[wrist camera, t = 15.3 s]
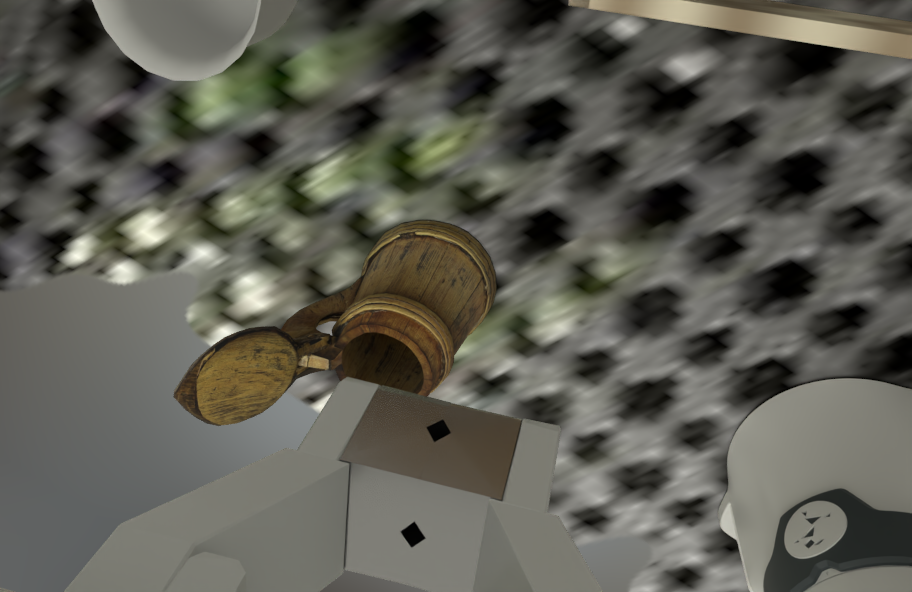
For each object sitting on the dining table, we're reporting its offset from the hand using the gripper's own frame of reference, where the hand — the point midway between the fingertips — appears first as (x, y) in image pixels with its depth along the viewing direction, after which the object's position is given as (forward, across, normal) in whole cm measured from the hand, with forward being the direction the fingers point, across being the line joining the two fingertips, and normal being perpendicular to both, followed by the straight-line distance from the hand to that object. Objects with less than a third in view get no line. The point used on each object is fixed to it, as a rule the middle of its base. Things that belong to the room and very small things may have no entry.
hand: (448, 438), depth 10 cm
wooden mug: (+37, +10, +19) cm, 43 cm away
